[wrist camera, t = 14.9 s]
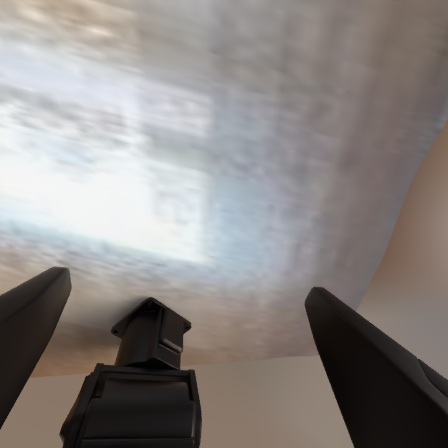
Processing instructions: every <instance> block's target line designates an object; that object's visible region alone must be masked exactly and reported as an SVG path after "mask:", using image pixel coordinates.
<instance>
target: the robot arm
mask: <svg viewBox="0 0 448 448" xmlns="http://www.w3.org/2000/svg"><path fill="white" fill-rule="evenodd" d="M71 287H72V286H71V278H70V271H69V269H68V268H66V267H52V268H50V269H48V270H46V271H44V272H42V273H41V274H39V275H37V276H35V277H33V278H32V279H30V280H28V281H26V282H24V283H22V284H21V285H19V286H17V287H15V288H13V289H11V290H10V291H8V292H6V293H4V294H2V295H0V429H1V427H2V425H3V423H4V422H5V420H6V418H7V416H8V414H9V412H10V411H11V409H12V407H13V406H14V404H15V402H16V400H17V398H18V397H19V395H20V393H21V391H22V389H23V387H24V386H25V384H26V382H27V380H28V379H29V377H30V375H31V373H32V371H33V370H34V368H35V366H36V364H37V363H38V361H39V359H40V357H41V355H42V354H43V352H44V350H45V348H46V346H47V345H48V343H49V341H50V339H51V337H52V335H53V332H54V330H55V328H56V325H57V323H58V321H59V318H60V316H61V314H62V311H63V309H64V307H65V304H66V302H67V299H68V297H69V295H70V292H71ZM150 302H152V303H150ZM305 309H306V312H307V316H308V320H309V323H310V327H311V331H312V334H313V338H314V341H315V344H316V347H317V350H318V353H319V355H320V358H321V360H322V363H323V366H324V368H325V371H326V374H327V376H328V379H329V382H330V384H331V387H332V390H333V392H334V395H335V398H336V400H337V403H338V406H339V408H340V411H341V414H342V416H343V419H344V422H345V424H346V427H347V429H348V432H349V435H350V438H351V440H352V443H353V445H354V448H448V380H447V379H446V378H444V377H443V376H441V375H440V374H439V373H437V372H436V371H435V370H433V369H432V368H431V367H429V366H428V365H426V364H425V363H424V362H422V361H421V360H420V359H417V357H416V356H414V355H413V354H412V353H410V352H409V351H408V350H406V349H405V348H404V347H402V346H401V345H400V344H398V343H397V342H395V341H394V340H393V339H392V338H390V337H389V336H388V335H386V334H385V333H383V332H382V331H381V330H380V329H378V328H377V327H375V326H374V325H373V324H372V323H370V322H369V321H367V320H366V319H365V318H363V317H362V316H361V315H359V314H358V313H357V312H355V311H354V310H353V309H351V308H350V307H349V306H347V305H346V304H345V303H343V302H342V301H341V300H339V299H338V298H337V297H335V296H334V295H333V294H331V293H330V292H329V291H327V290H326V289H325V288H322V287H313V288H312V289H311V290H310V292H309V294H308V296H307V298H306V300H305ZM190 329H191V323H190V322H189V321H187V320H186V319H184V318H183V317H181V316H180V315H178V314H177V313H175V312H174V311H173V310H171V309H170V308H168V307H167V306H165V305H164V304H162V303H161V302H159V301H158V300H156V299H155V298H152V297H150V298H148V299H146V300H145V301H144V302H143V303H141V304H140V305H139V306H138V307H136V308H135V309H134V310H133V311H132V312H130V313H129V314H128V315H127V316H125V317H124V318H123V319H122V320H120V321H119V322H118V323H117V324H116V325H114V326H113V327H112V330H111V333H112V334H114V335H115V336H117V337H119V338H121V339H122V341H121V344H120V347H119V351H118V354H117V357H116V361H115V364H114V365H104V364H102V363H97V365H96V367H95V370H94V372H91V374H90V375H88V376H86V377H85V380H84V383H83V385H82V388H81V390H80V393H79V395H78V397H77V399H76V401H75V403H74V405H73V407H72V409H71V410H70V412H69V414H68V416H67V418H66V420H65V421H64V423H63V425H62V428H61V431H60V434H59V435H60V437H61V440H62V442H63V448H199V446H200V439H201V426H202V423H201V422H202V418H201V406H200V400H199V394H198V388H197V382H196V376H195V371H194V370H180V358H181V352H182V351H183V334H184V333H186V332H187V331H188V330H190Z"/></svg>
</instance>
